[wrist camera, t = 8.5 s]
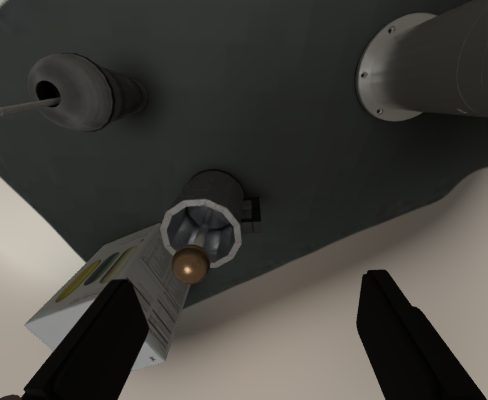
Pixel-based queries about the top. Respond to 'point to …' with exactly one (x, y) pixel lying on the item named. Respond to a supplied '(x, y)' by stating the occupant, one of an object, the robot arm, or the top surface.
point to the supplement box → (145, 285)
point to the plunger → (197, 246)
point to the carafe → (221, 199)
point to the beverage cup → (80, 93)
